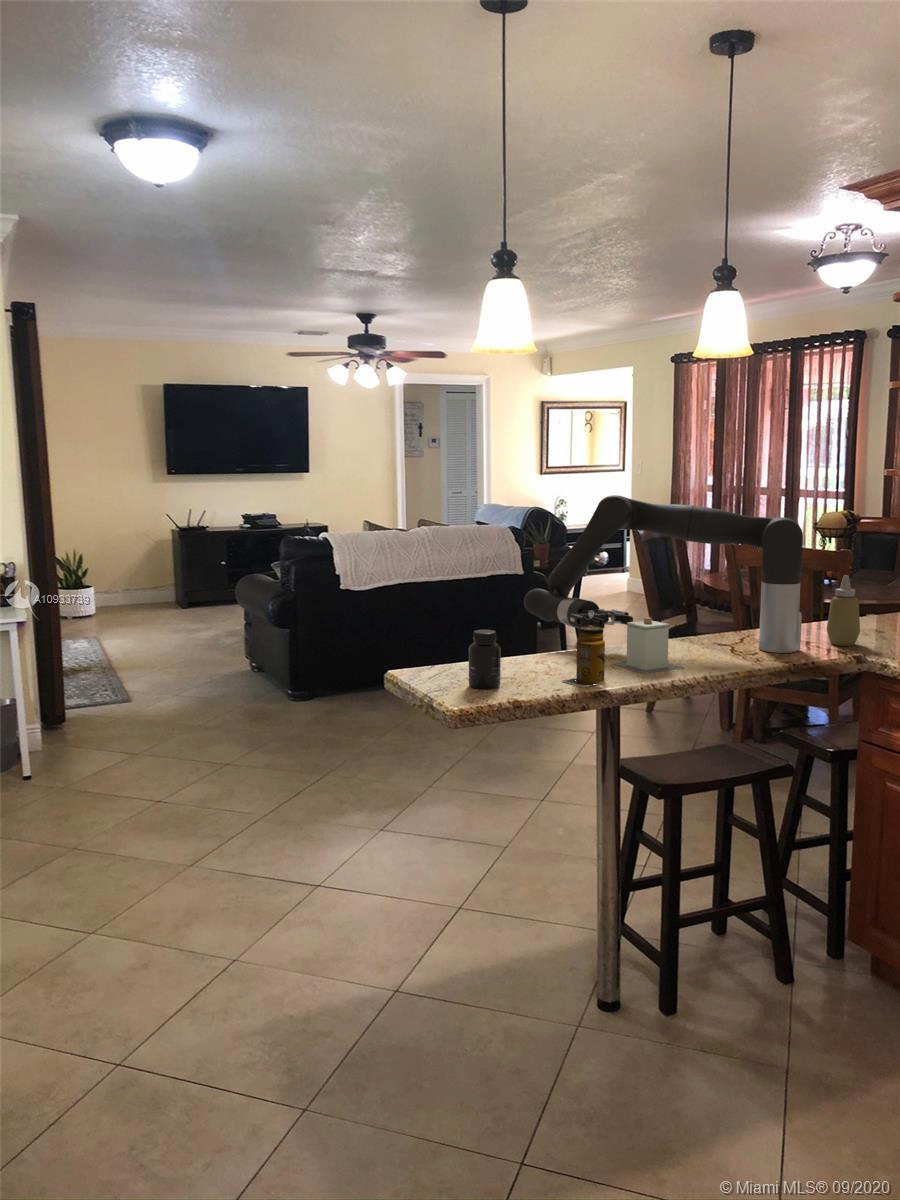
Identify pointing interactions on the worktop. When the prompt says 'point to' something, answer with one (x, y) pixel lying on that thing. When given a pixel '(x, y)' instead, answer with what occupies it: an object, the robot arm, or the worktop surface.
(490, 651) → the supplement bottle
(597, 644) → the condiment
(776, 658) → the worktop surface
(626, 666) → the mat
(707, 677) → the worktop surface
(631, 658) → the lidded square canister
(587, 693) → the worktop surface
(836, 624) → the squeeze bottle
